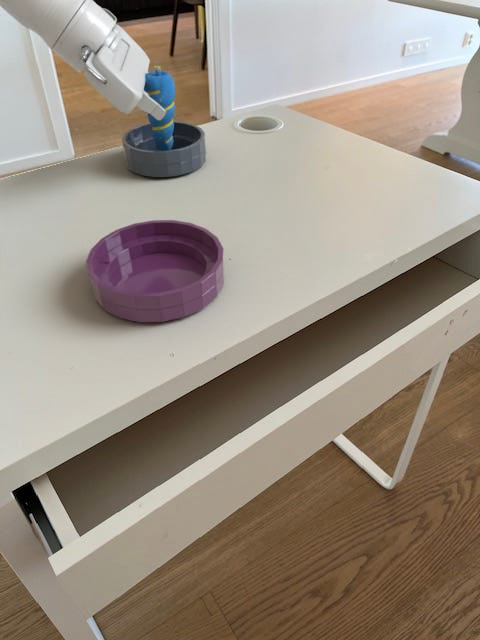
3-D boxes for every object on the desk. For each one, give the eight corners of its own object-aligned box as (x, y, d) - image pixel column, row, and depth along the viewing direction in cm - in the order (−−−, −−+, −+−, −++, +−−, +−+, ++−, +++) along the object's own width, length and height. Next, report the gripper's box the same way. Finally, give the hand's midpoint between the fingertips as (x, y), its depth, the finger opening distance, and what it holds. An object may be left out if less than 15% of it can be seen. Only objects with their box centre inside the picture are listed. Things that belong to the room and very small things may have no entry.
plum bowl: (68, 310, 57) (59, 281, 54) (131, 239, 67) (126, 212, 65) (196, 337, 53) (193, 308, 50) (240, 258, 64) (240, 230, 61)
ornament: (144, 161, 85) (130, 63, 75) (164, 150, 88) (153, 55, 78) (167, 168, 82) (156, 68, 73) (188, 157, 86) (180, 60, 76)
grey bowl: (112, 174, 82) (107, 146, 79) (147, 143, 92) (144, 117, 89) (188, 184, 79) (185, 156, 76) (217, 151, 89) (215, 125, 86)
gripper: (89, 39, 64) (175, 116, 70) (109, 7, 79) (178, 73, 86) (62, 78, 66) (147, 148, 73) (86, 40, 82) (155, 101, 89)
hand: (164, 107), depth 80 cm, fingers open, 6 cm apart
